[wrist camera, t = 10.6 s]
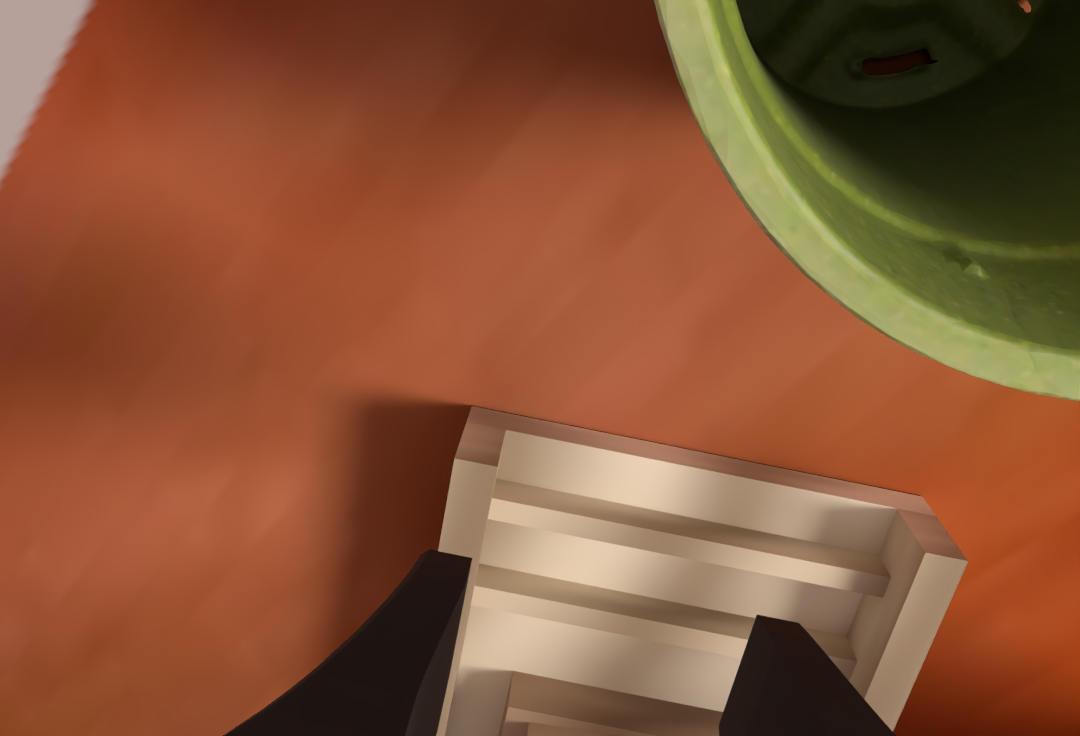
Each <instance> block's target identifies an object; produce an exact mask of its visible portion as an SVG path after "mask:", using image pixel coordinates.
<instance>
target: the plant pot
mask: <svg viewBox="0 0 1080 736" xmlns="http://www.w3.org/2000/svg"><path fill="white" fill-rule="evenodd" d="M775 2H776V3H775ZM1028 2H1029V4H1030V5H1031V12H1029V13H1026V12H1025V11H1024V9H1023V8H1021V7H1020V6H1019V4H1018V3H1016V1H1015V0H654V3H655V7H656V11H657V15H658V19H659V23H660V26H661V29H662V32H663V35H664V38H665V42H666V45H667V48H668V51H669V54H670V57H671V60H672V63H673V66H674V69H675V72H676V76H677V79H678V81H679V83H680V86H681V88H682V90H683V93H684V95H685V97H686V100H687V102H688V104H689V107H690V109H691V111H692V114H693V116H694V118H695V120H696V122H697V124H698V126H699V128H700V131H701V133H702V135H703V137H704V139H705V141H706V143H707V145H708V147H709V149H710V151H711V153H712V155H713V156H714V158H715V160H716V161H717V163H718V165H719V166H720V168H721V170H722V171H723V173H724V175H725V176H726V178H727V180H728V181H729V183H730V185H731V186H732V188H733V189H734V191H735V192H736V194H737V195H738V197H739V198H740V199H741V201H742V202H743V204H744V205H745V207H746V208H747V209H748V211H749V212H750V214H751V215H752V217H753V218H754V219H755V221H756V222H757V224H758V225H759V227H760V228H761V229H762V230H763V231H764V232H765V233H766V235H767V236H768V237H769V238H770V239H771V240H772V241H773V242H774V244H775V245H776V246H777V247H778V248H779V249H780V250H781V251H782V252H783V254H784V255H785V256H786V257H787V258H788V259H789V260H790V261H791V262H792V263H793V264H794V265H795V266H796V267H797V268H798V269H799V270H800V271H801V272H802V273H803V274H804V275H805V276H806V277H808V278H809V279H810V280H811V281H812V282H814V283H815V284H816V285H817V286H818V287H819V288H821V289H822V290H823V291H824V292H825V293H827V294H828V295H829V296H830V297H831V298H833V299H834V300H835V301H836V302H838V303H839V304H840V305H841V306H843V307H844V308H845V309H847V310H848V311H849V312H850V313H852V314H853V315H854V316H855V317H857V318H858V319H860V320H861V321H863V322H865V323H866V324H868V325H870V326H871V327H873V328H874V329H876V330H878V331H879V332H881V333H882V334H884V335H886V336H887V337H889V338H891V339H892V340H894V341H896V342H897V343H899V344H901V345H903V346H905V347H907V348H909V349H910V350H912V351H914V352H916V353H918V354H920V355H923V356H925V357H928V358H930V359H933V360H935V361H937V362H940V363H942V364H945V365H947V366H949V367H951V368H954V369H956V370H958V371H961V372H963V373H966V374H969V375H972V376H975V377H978V378H981V379H984V380H986V381H989V382H993V383H996V384H1000V385H1003V386H1006V387H1010V388H1013V389H1017V390H1020V391H1025V392H1030V393H1035V394H1040V395H1046V396H1051V397H1057V398H1062V399H1068V400H1077V401H1080V0H1028ZM924 48H925V49H926V50H927V51H928V54H929V57H930V60H937V61H938V62H935V63H932V64H925V65H920V66H914V67H913V68H911V69H910V70H908V71H901V72H898V73H894V74H887V75H884V76H883V75H872V76H871V75H868V74H865V73H864V71H863V69H862V62H863V61H864V60H865V59H868V58H885V57H890V56H899V55H904V54H907V53H911V52H915V51H918V50H921V49H924ZM826 57H827V58H826Z"/></svg>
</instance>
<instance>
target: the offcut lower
mask: <svg viewBox="0 0 1080 736" xmlns="http://www.w3.org/2000/svg"><path fill="white" fill-rule="evenodd" d="M722 714H723V712H720V711H715V710H710V709H705V708H700V707H695V706H690V705H685V704H680V703H675V702H670V701H664V700H659V699H654V698H649V697H644V696H639V695H634V694H629V693H624V692H619V691H614V690H609V689H603V688H598V687H593V686H588V685H583V684H578V683H573V682H568V681H563V680H558V679H553V678H548V677H543V676H537V675H532V674H527V673H522V672H517V671H513V673H512V677H511V682H510V686H509V691H508V695H507V700H506V704H505V708H504V713H503V717H502V722H501V726H500V730H499V735H498V736H527V732H528V725H529V722H531V723H538V724H545V725H552V726H560V727H567V728H574V729H581V730H588V731H595V732H603V733H610V734H617V735H624V736H719V723H720V720H721V717H722Z"/></svg>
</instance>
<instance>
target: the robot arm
mask: <svg viewBox="0 0 1080 736" xmlns="http://www.w3.org/2000/svg"><path fill="white" fill-rule="evenodd" d="M471 562H472V558H470V557H465V556H460V555H455V554H450V553H445V552H440V551H435V550H429V551H427V552H425V553H424V554H422V555H421V556H420V558H419V559H418V561H417V562H416V564H415V565H414V567H413V568H412V569H411V571H410V572H409V573H408V575H407V576H406V577H405V579H404V580H403V581H402V582H401V583H400V585H399V586H398V587H397V588H396V589H395V590H394V592H393V593H392V594H391V595H390V596H389V597H388V599H387V600H386V601H385V602H384V603H383V604H382V605H381V606H380V607H379V608H378V609H377V610H376V611H375V612H374V613H373V615H372V616H371V617H370V618H369V619H368V620H367V621H366V622H365V623H364V624H363V625H362V626H361V627H360V628H359V629H358V630H357V631H356V632H355V633H354V634H353V635H352V636H351V637H350V638H349V639H348V640H347V641H345V642H344V643H343V644H342V645H341V646H340V647H339V648H338V649H337V650H335V651H334V652H333V653H332V654H331V655H330V656H329V657H328V658H327V659H326V660H324V661H323V662H322V663H321V664H320V665H319V666H318V667H317V668H315V669H314V670H313V671H312V672H311V673H309V674H308V675H307V676H306V677H305V678H303V679H302V680H301V681H300V682H298V683H297V684H296V685H295V686H293V687H292V688H291V689H289V690H288V691H287V692H286V693H284V694H283V695H281V696H280V697H279V698H277V699H276V700H275V701H273V702H272V703H271V704H269V705H268V706H267V707H265V708H264V709H262V710H261V711H260V712H258V713H257V714H255V715H254V716H252V717H251V718H249V719H248V720H246V721H245V722H243V723H242V724H240V725H239V726H237V727H236V728H234V729H233V730H231V731H230V732H228V733H227V734H225V735H223V736H436V735H437V731H438V726H439V721H440V717H441V712H442V708H443V703H444V699H445V694H446V690H447V685H448V680H449V676H450V671H451V666H452V661H453V656H454V650H455V645H456V640H457V635H458V630H459V624H460V619H461V614H462V609H463V604H464V599H465V593H466V588H467V583H468V578H469V573H470V568H471ZM719 736H896V735H895V734H894V733H893V732H892V730H891V729H890V728H889V727H888V726H887V725H886V724H885V723H884V721H883V720H882V719H881V718H880V717H879V716H878V715H877V713H876V712H875V711H874V710H873V709H872V708H871V706H870V705H869V704H868V703H867V702H866V701H865V699H864V698H863V697H862V696H861V695H860V694H859V692H858V691H857V690H856V689H855V688H854V686H853V685H852V684H851V683H850V682H849V680H848V679H847V678H846V677H845V676H844V674H843V673H842V672H841V671H840V670H839V669H838V667H837V666H836V665H835V664H834V663H833V661H832V660H831V659H830V658H829V657H828V655H827V654H826V653H825V652H824V651H823V649H822V648H821V647H820V646H819V645H818V644H817V642H816V641H815V640H814V639H813V638H812V637H811V635H810V634H809V633H808V632H807V631H806V630H805V629H804V628H803V627H802V626H801V624H800V623H797V622H792V621H787V620H782V619H777V618H772V617H767V616H762V615H757V616H756V619H755V621H754V624H753V627H752V630H751V633H750V636H749V639H748V642H747V645H746V648H745V650H744V653H743V656H742V659H741V662H740V665H739V668H738V671H737V674H736V677H735V679H734V682H733V685H732V688H731V691H730V694H729V697H728V700H727V703H726V706H725V708H724V711H723V714H722V717H721V720H720V723H719Z"/></svg>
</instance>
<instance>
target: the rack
mask: <svg viewBox="0 0 1080 736" xmlns="http://www.w3.org/2000/svg"><path fill="white" fill-rule="evenodd" d="M438 551H440V552H445V553H450V554H455V555H460V556H465V557H470V558H472V562H471V568H470V573H469V578H468V583H467V588H466V593H465V599H464V604H463V609H462V614H461V619H460V624H459V630H458V635H457V640H456V645H455V650H454V656H453V661H452V666H451V671H450V676H449V680H448V685H447V690H446V694H445V699H444V703H443V708H442V712H441V717H440V721H439V726H438V731H437V735H436V736H498V735H499V730H500V726H501V722H502V717H503V713H504V708H505V704H506V700H507V695H508V691H509V686H510V682H511V677H512V673H513V671H517V672H522V673H527V674H532V675H537V676H543V677H548V678H553V679H558V680H563V681H568V682H573V683H578V684H583V685H588V686H593V687H598V688H603V689H609V690H614V691H619V692H624V693H629V694H634V695H639V696H644V697H649V698H654V699H659V700H664V701H670V702H675V703H680V704H685V705H690V706H695V707H700V708H705V709H710V710H715V711H720V712H723V711H724V708H725V706H726V703H727V700H728V697H729V694H730V691H731V688H732V685H733V682H734V679H735V677H736V674H737V671H738V668H739V665H740V662H741V659H742V656H743V653H744V650H745V648H746V645H747V642H748V639H749V636H750V633H751V630H752V627H753V624H754V621H755V619H756V616H757V615H762V616H767V617H772V618H777V619H782V620H787V621H792V622H797V623H800V624H801V626H802V627H803V628H804V629H805V630H806V631H807V632H808V633H809V634H810V635H811V637H812V638H813V639H814V640H815V641H816V642H817V644H818V645H819V646H820V647H821V648H822V649H823V651H824V652H825V653H826V654H827V655H828V657H829V658H830V659H831V660H832V661H833V663H834V664H835V665H836V666H837V667H838V669H839V670H840V671H841V672H842V673H843V674H844V676H845V677H846V678H847V679H848V680H849V682H850V683H851V684H852V685H853V686H854V688H855V689H856V690H857V691H858V692H859V694H860V695H861V696H862V697H863V698H864V699H865V701H866V702H867V703H868V704H869V705H870V706H871V708H872V709H873V710H874V711H875V712H876V713H877V715H878V716H879V717H880V718H881V719H882V720H883V721H884V723H885V724H886V725H887V726H888V727H889V728H890V729H891V730H892V732H893V730H894V728H895V726H896V723H897V721H898V719H899V717H900V714H901V712H902V710H903V708H904V705H905V703H906V701H907V698H908V696H909V694H910V692H911V689H912V687H913V685H914V683H915V680H916V678H917V676H918V674H919V671H920V669H921V667H922V664H923V662H924V660H925V658H926V655H927V653H928V651H929V649H930V646H931V644H932V642H933V640H934V637H935V635H936V633H937V630H938V628H939V626H940V624H941V621H942V619H943V617H944V615H945V612H946V610H947V608H948V606H949V603H950V601H951V599H952V596H953V594H954V592H955V590H956V587H957V585H958V583H959V581H960V578H961V576H962V574H963V572H964V569H965V567H966V565H967V562H968V560H967V559H966V558H965V556H964V555H963V553H962V552H961V550H960V549H959V548H958V546H957V545H956V543H955V542H954V541H953V539H952V538H951V536H950V535H949V534H948V532H947V531H946V529H945V528H944V527H943V525H942V524H941V522H940V521H939V520H938V518H937V517H936V515H935V514H934V513H933V511H932V510H931V508H930V507H929V506H928V504H927V503H926V501H925V500H924V499H923V497H922V496H917V495H912V494H907V493H902V492H897V491H892V490H887V489H882V488H877V487H872V486H867V485H862V484H858V483H853V482H848V481H843V480H838V479H833V478H828V477H823V476H818V475H813V474H808V473H803V472H798V471H793V470H788V469H783V468H778V467H773V466H768V465H763V464H758V463H753V462H748V461H743V460H738V459H733V458H728V457H723V456H718V455H713V454H708V453H703V452H698V451H693V450H688V449H683V448H678V447H674V446H669V445H664V444H659V443H654V442H649V441H644V440H639V439H634V438H629V437H624V436H619V435H614V434H609V433H604V432H599V431H594V430H589V429H584V428H579V427H574V426H569V425H564V424H559V423H554V422H549V421H544V420H539V419H534V418H529V417H524V416H519V415H514V414H509V413H504V412H499V411H494V410H490V409H485V408H480V407H475V406H472V407H471V410H470V413H469V416H468V419H467V422H466V425H465V428H464V431H463V434H462V437H461V440H460V443H459V446H458V449H457V452H456V455H455V458H454V463H453V469H452V474H451V480H450V486H449V491H448V497H447V503H446V509H445V514H444V520H443V526H442V531H441V537H440V543H439V548H438Z"/></svg>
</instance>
